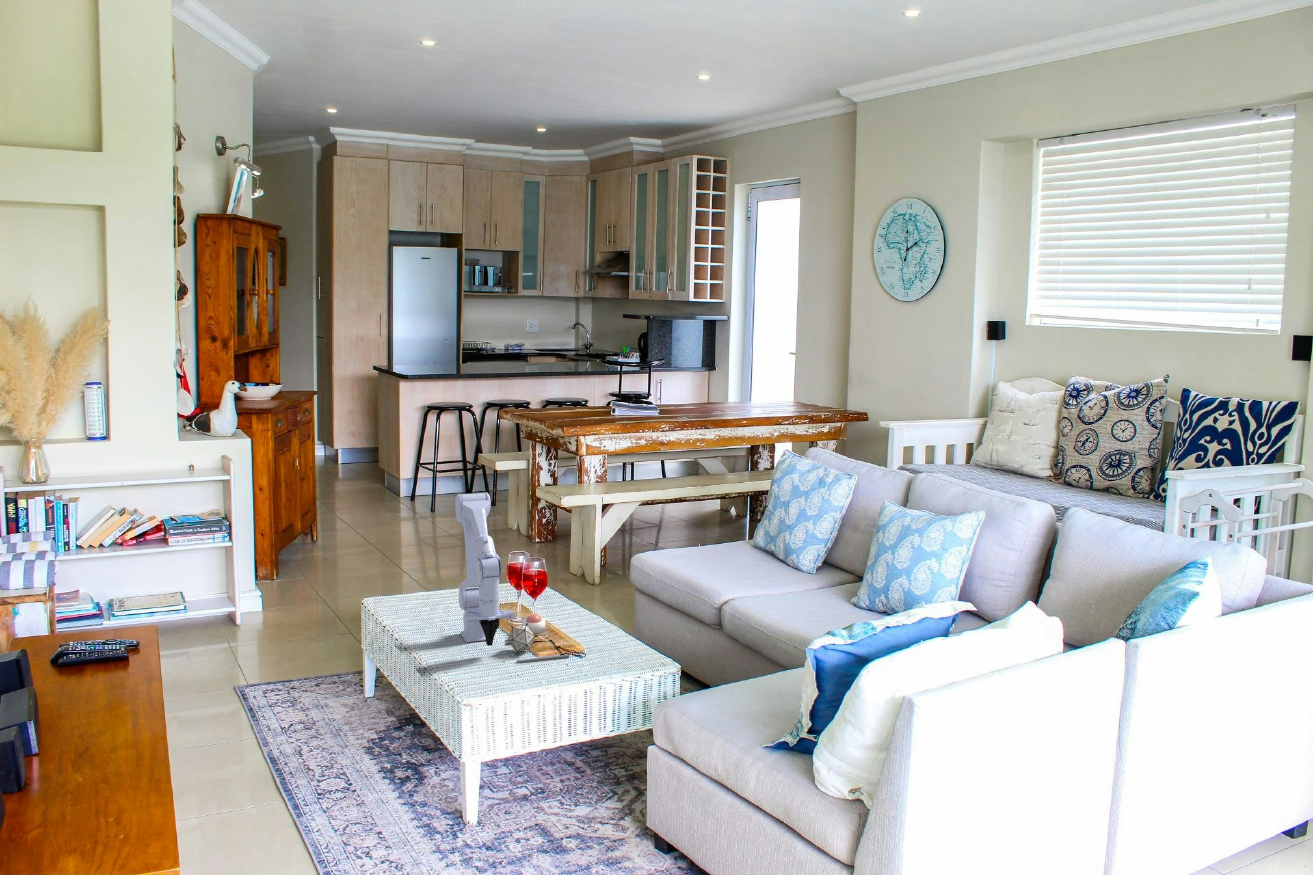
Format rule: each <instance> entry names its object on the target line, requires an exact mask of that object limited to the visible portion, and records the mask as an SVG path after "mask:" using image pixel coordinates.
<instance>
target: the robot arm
mask: <svg viewBox="0 0 1313 875" xmlns="http://www.w3.org/2000/svg"><path fill="white" fill-rule="evenodd" d="M454 500H455V501H454V502H455V503H454V506H455V507H454V508H455V518H456V521H457V522H458V523H461V524H462V527H463V532H464V548H465V561H466V562H465V563H466V576H467V577H465V579H463V581H461V582H460V583H459V586H458V604H459V607H460V609H462V610H463V611H464V612H463V615H462V616H463V617H462V618H463V630H461V631H460V634H461V636H462V638H463V640H464V642H465V643H470V642H471V643H473V642H483V641H485V642H486V643H485V644H486V645H487V646H488V647H489V646H493V643H494V638H495V636H496V633H497V631H498V629H499V627H500V625H501V624H500V623H501V622H500V620H509V619H510V620H514V619H515V617H516V615H515V614H516V613H515V611H514V610H500V578H499V577H501V576H502V569H503V568H502V561H501V558H500V556H499V554H498V553H497V552H496V548H495V543H494V539H493V538H492V536H490V535H489V534H488V524H487V518H488V516H489V514H490V511H491V507H492V503H491V501H492V500H491V496H490V494H489V493H488V492H481V493H480V492H477V493H462V494H461V493H458V494H457V495H456V496H455V499H454Z"/></svg>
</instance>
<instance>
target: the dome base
mask: <svg viewBox="0 0 1313 875" xmlns="http://www.w3.org/2000/svg"><path fill="white" fill-rule="evenodd" d="M549 633H550V634H551V629H550V627H548V626H545V631H544V632H542V633H538V634H534V635H538V636H545V635H547V634H549ZM538 636H537V637H538Z"/></svg>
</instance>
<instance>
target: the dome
mask: <svg viewBox="0 0 1313 875" xmlns="http://www.w3.org/2000/svg"><path fill="white" fill-rule="evenodd" d="M521 623H522V624H521V626H525V625H526V623H528V625H527V626H528V628H529V629H530V630H531V631H532V633H533V634H538V633H542V632H544V631H545V627H546V619H545V618H543V617H541V616H540V615H539V614H537V613H532V614H529V615H528V616H527V617H525V618H523V619H522V621H521Z"/></svg>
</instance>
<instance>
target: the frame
mask: <svg viewBox="0 0 1313 875" xmlns="http://www.w3.org/2000/svg"><path fill="white" fill-rule="evenodd" d="M504 645H505V646H511V645H510V644H509V642H508V641H507V642H505V641H504ZM569 657H570V656H569V654H568V653H567V654H564V655H562V654H561V655H555V656H544V657H533V658H527V659H524V658H523V659H516V663H517V664H524V663H533V662H536V663H537V662H544V661H551V660H553V661H554V660H562V659H569Z"/></svg>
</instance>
